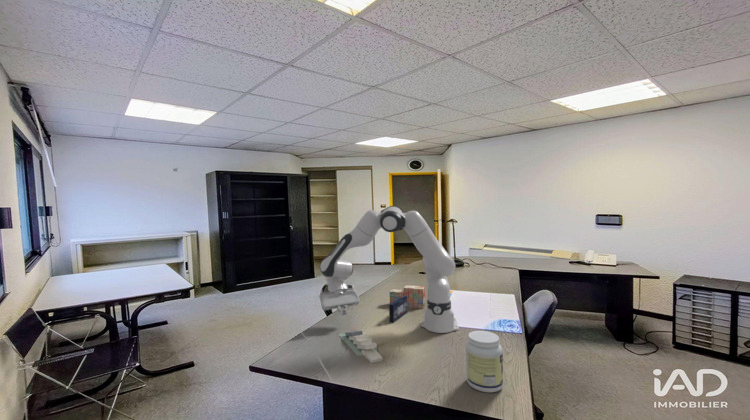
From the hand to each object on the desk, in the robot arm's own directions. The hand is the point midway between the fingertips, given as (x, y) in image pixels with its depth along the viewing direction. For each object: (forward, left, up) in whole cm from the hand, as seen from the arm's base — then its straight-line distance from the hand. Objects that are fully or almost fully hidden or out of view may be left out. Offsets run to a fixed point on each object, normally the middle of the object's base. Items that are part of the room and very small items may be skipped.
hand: (344, 314), depth 161 cm
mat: (+11, +12, -8) cm, 18 cm away
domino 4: (+15, +16, -7) cm, 23 cm away
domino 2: (+8, +9, -7) cm, 14 cm away
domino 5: (+19, +19, -7) cm, 28 cm away
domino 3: (+12, +13, -7) cm, 19 cm away
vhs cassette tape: (-26, +22, -9) cm, 35 cm away
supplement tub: (+29, +68, -9) cm, 74 cm away
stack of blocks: (-47, +21, -9) cm, 52 cm away
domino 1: (+5, +5, -7) cm, 10 cm away
